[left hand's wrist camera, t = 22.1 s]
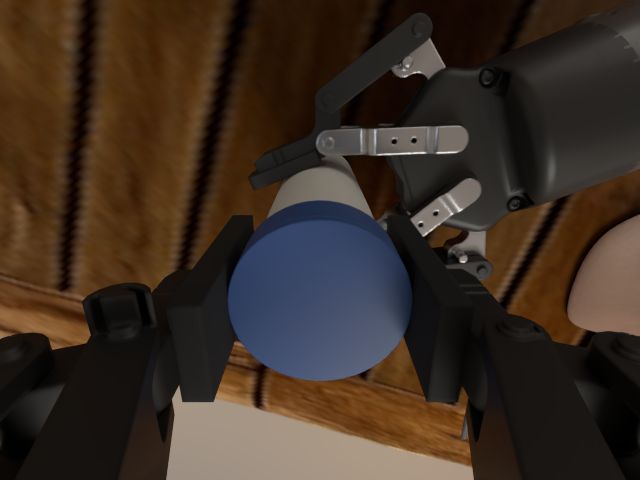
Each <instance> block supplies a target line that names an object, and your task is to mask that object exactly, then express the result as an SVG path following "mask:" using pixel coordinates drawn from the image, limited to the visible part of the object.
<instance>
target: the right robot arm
mask: <svg viewBox="0 0 640 480" xmlns="http://www.w3.org/2000/svg"><path fill="white" fill-rule="evenodd" d="M432 29H433V25H432V21H431V19H430V18H429V16H427V15H426V14H424V13H416V14H413V15H412V16H411V17H409V18H408V19H407V20H405V21H404V22H403V23H402V24H400V25H399V26H398V27H397V28H395V29H394V30H393V31H392V32H390V33H389V34H388V35H387V36H385V37H384V38H383V39H382V40H380V41H379V42H378V43H376V44H375V45H374V46H373V47H371V48H370V49H369V50H368V51H366V52H365V53H364V54H363V55H361V56H360V57H359V58H358V59H356V60H355V61H354V62H353V63H351V64H350V65H349V66H348V67H346V68H345V69H344V70H342V71H341V72H340V73H339V74H337V75H336V76H335V77H334V78H332V79H331V80H330V81H329V82H327V83H326V84H325V85H324V86H322V87H321V88H320V89H319V90H318V91H317V92H316V94H315V98H314V102H315V126H314V129H313V130H312V131H311V132H310V133H309V134H308V135H306V136H303V137H301V138H298V139H296V140H294V141H291V142H289V143H287V144H284V145H282V146H279V147H277V148H275V149H272V150H270V151H267V152H265V153H264V154H263V155H262V156H261V157H260V158H259V159H258V160H257V161H256V162H255V163H254V165H255V167H256V169H257V170H256V171H254V172H252V173H251V174H250V176H249V177H248V179H249V181H250V183H251V185H252V187H253V189H254V190H257V189H260V188H263V187H265V186H268V185H270V184H273V183H275V182H278V181H280V180H282V179H285V178H287V177H290V176H292V175H295V174H297V173H299V172H302V171H304V170H307V169H310V168H312V167H315V166H317V165H320V164H321V158H324V157H326V156H344V155H369V156H382V155H385V158H386V161H387V163H388V165H389V166H390V168H391V169H392V171H393V172H394V174H395V177H396V191H397V194H398V197H399V200H398V201H396V202H395V203H394V204H393V205H391V206H390V207H389V208H388V209H387V210H386V211H385V212H384V214H383V216H382V217H381V218H380V219H378V220H377V222H378V223H379V224H380V225H381V227H382V228H383V229H384V230H385V231H387V217H388V215H407V216H408V217H409V218H410V220H411V221H412V222H413V224H414V225H415V226H416V228H417V229H418V230H419V232H420V233H421V234H422V236H423V237H424V236H425V235H427V234H428V233H429V232H431V231H432V230H433V229H435V228H436V227H437V226H439V225H443V226H447V227H451V228H456V229H460V230H462V232H461V233H460V234H459V235H458V236H457V237H455V238H451V239H448V240H446V241H445V243H444V245H443V247H436V248H432V249H433V250H434V252H435V253H436V254H437V256H438V257H439V258H440V260H441V261H442V262H443V264H444V265H445V266H446V268H447V269H464V270H465V271H467V272H469V273H471V274H472V275H474V276H476V277H477V279H478V280H479V281H482V280H485V279H487V278H489V277H490V276H491V274H492V272H493V266H492V264H491V263H490V262H489V261H488V260H487V259H486V257H485V246H486V231H487V230H489V229H490V228H492V227H493V226H494V225H495V224H496V223H497V222H498V221H499V220H500V219H502V218H503V217H504V216H506V215H507V214H509V213H511V212H514V211H518V210H523V209H527V208H532V207H535V206H538V205H541V204H544V203H547V202H550V201H553V200H555V199H558V198H561V197H564V196H566V195H569V194H572V193H575V192H578V191H580V190H583V189H586V188H589V187H592V186H594V185H597V184H600V183H603V182H605V181H608V180H611V179H614V178H617V177H619V176H622V175H625V174H628V173H631V172H633V171H636V170H639V169H640V0H633V1H630V2H627V3H625V4H622V5H620V6H617V7H615V8H613V9H610V10H608V11H605V12H603V13H602V12H600V13H597V14H592V15H590V16H588V17H585V18H583V19H582V20H580V21H578V22H577V23H575V25H572V26H570V27H567V28H565V29H562V30H560V31H558V32H555V33H553V34H550V35H548V36H546V37H543V38H541V39H539V40H536V41H534V42H531V43H529V44H527V45H524V46H522V47H520V48H517V49H515V50H512V51H510V52H508V53H505V54H503V55H500V56H498V57H496V58H493V59H491V60H488V61H486V62H484V63H481V64H479V65H476V66H474V67H471V68H458V67H445V65H444V63H443V61H442V59H441V58H440V56H439V54H438V52H437V50H436V48H435V47H434V45H433V43H432V41H431V39H430V36H431V34H432ZM387 71H389V73H390V74H391V76H393V77H394V78H397V79H401V78H405V77H408V76H410V75H412V74H415V75H418V76H420V77H421V78H422V79H423V82H422V83H421V85H420V86H419V88H418V89H417V91H416V92H415V94H414V95H413V96H412V98H411V99H410V101H409V102H408V104H407V105H406V107H405V108H404V110H403V111H402V113H401V114H400V116H399V117H398V119H397V120H396V122H395V123H381V124H362V125H349V126H341V115H340V107H342V106H343V105H344V104H346V103H347V102H348V101H350V100H351V99H352V98H353V97H355V96H356V95H357V94H359V93H360V92H361V91H363V90H364V89H365V88H366V87H368V86H369V85H370V84H372V83H373V82H374V81H376V80H377V79H378V78H379V77H381V76H382V75H383V74H385V73H386V72H387ZM419 223H420V224H419Z"/></svg>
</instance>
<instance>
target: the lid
mask: <svg viewBox="0 0 640 480" xmlns="http://www.w3.org/2000/svg"><path fill="white" fill-rule="evenodd" d="M227 299H228V309H229V317H230V321H231V323H232V326H233V329H234V331H235V333H236V335H237V337H238V338H239V340H240V341H241V343H242V344H243V345H244V347H245V348H246V349H247V350H248V351H249V352H250V353H251V354H252V355H253V356H254V357H255V358H256V359H258V360H259V361H260V362H261V363H263V364H264V365H266V366H268V367H269V368H271V369H273V370H275V371H277V372H279V373H282V374H285V375H287V376H290V377H294V378H299V379H304V380H313V381H326V380H336V379H342V378H346V377H350V376H353V375H356V374H358V373H361V372H363V371H366V370H367V369H369V368H371V367H373V366H375V365H376V364H377V363H379V362H380V361H382V360H383V359H384V358H385V357H386V356H387V355H389V354H390V353H391V352H392V351H393V349H394V348H395V347H396V346H397V345H398V343H399V342H400V340H401V339H402V337H403V336H404V334H405V332H406V329H407V327H408V325H409V322H410V318H411V311H412V302H413V291H412V285H411V281H410V278H409V275H408V272H407V270H406V268H405V266H404V264H403V262H402V260H401V258H400V256H399V254H398V252H397V250H396V248H395V246H394V244H393V242H392V240H391V238H390V237H389V236H388V234H387V233H386V231H385V230H384V229H383V228H382V227H381V225H380V224H379V223H378V222H377V221H375V220H374V219H373V218H372V217H371V216H369V215H368V214H366V213H364V212H363V211H361V210H359V209H357V208H355V207H352V206H350V205H347V204H343V203H340V202H334V201H324V200H315V201H306V202H301V203H297V204H294V205H291V206H288V207H285V208H283V209H281V210H280V211H278V212H276V213H274V214H273V215H271V216H270V217H269V218H267V219H266V220H265V221H264V222H263V223H262V224H261V225H260V226H259V227H258V228H257V229H256V230H255V232H254V233H253V234H252V236H251V238H250V239H249V241H248V243H247V245H246V247H245V249H244V251H243V253H242V255H241V257H240V259H239V261H238V263H237V265H236V267H235V269H234V271H233V274H232V276H231V279H230V283H229V287H228V296H227Z"/></svg>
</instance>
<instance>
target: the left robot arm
mask: <svg viewBox="0 0 640 480" xmlns="http://www.w3.org/2000/svg"><path fill="white" fill-rule="evenodd" d="M253 233H254V228H253V215H233V216H232V217H231V219H230V220H229V221H228V223H227V224H226V225H225V227H224V228H223V229H222V231H221V232H220V233H219V235H218V236H217V237H216V239H215V240H214V241H213V243H212V244H211V245H210V247H209V248H208V249H207V251H206V252H205V253H204V255H203V256H202V257H201V259H200V260H199V261H198V263H197V264H196V265H195V267H194V268H193V269H192V270H177V271H175V272H174V273H172V274H170V275H168V276H167V277H165V278H164V279H163V280H162V282H161V283H160V284H159V285H158V286H157V288H155V290H154V291H153V292H152V293H151V290H150V288H149V287H148V286H146V285H145V284H140V283H122V284H117V285H112V286H109V287H106V288H103V289H100V290H98V291H96V292H94V293H92V294H90V295H88V296H87V297H86V298H85V299H84V300H83V301H82V305H83V308H84V312H85V315H86V319H87V323H88V326H89V330H90V333H91V336H90V338H89V340H88V342H87V343H85V344H81V345H76V346H71V347H65V348H60V349H55V350H52V348H51V345H50V342H49V339H48V337H46V336H45V335H44V334H40V333H24V334H15V335H12V336H7V337H4V338H1V339H0V480H166V476H167V468H168V461H169V453H170V445H171V438H172V430H173V422H174V409H173V403H172V398H173V396H174V394H175V392H176V390H177V388H178V386H180V391H181V397H182V402H214V399H215V396H216V393H217V390H218V388H219V385H220V382H221V379H222V376H223V373H224V371H225V368H226V365H227V362H228V359H229V356H230V354H231V351H232V348H233V345H234V342H235V339H236V337H237V335H236V333H235V331H234V329H233V326H232V323H231V321H230V317H229V309H228V299H227V296H228V287H229V283H230V279H231V276H232V274H233V271H234V269H235V267H236V265H237V263H238V261H239V259H240V257H241V255H242V253H243V251H244V249H245V247H246V245H247V243H248V241H249V239H250V238H251V236H252V234H253ZM386 233H387V234H388V236H389V237H390V238H391V240H392V242H393V244H394V246H395V248H396V250H397V252H398V254H399V256H400V258H401V260H402V262H403V264H404V266H405V268H406V270H407V272H408V275H409V278H410V281H411V285H412V291H413V302H412V311H411V318H410V322H409V325H408V327H407V329H406V332H405V334H404V339H405V342H406V344H407V347H408V350H409V353H410V356H411V359H412V361H413V364H414V367H415V370H416V373H417V376H418V378H419V381H420V384H421V387H422V390H423V393H424V395H425V398H426V401H427V402H458V398H459V392H460V387H461V383H462V385H463V387H464V389H465V391H466V393H467V395H468V397H469V398H468V403H467V408H466V413H465V419H464V424H463V429H462V435H461V439H464V440H466V437H467V432H468V437H469V445H470V452H471V460H472V468H473V475H474V480H640V337H639V336H636V335H633V334H631V335H630V334H629V333H624V332H614V331H604V332H598V333H596V334H595V335H593V337H592V340H591V343H590V346H589V348H584V347H578V346H573V345H568V344H562V343H557V342H553V341H552V339H551V337H550V335H549V334H548V333H547V332H546V331H545V329H544V328H543V327H541V326H540V325H538V324H537V323H535V322H533V321H531V320H529V319H526V318H524V317H521V316H516V315H512V314H508V313H507V312H506V310H505V309H504V308H503V307H502V306H501V305H500V304H499V302H498V301H497V300H496V299H495V298H494V297H493V296H492V295H491V294H490V292H489V291H488V290H487V289H486V288H485V287H483V284H482V283H481V282H480V281H479V280H478V279H477V277H476V276H474V275H472V274H471V273H469V272H467V271H465V270H464V269H447V268H446V266H445V265H444V264H443V262H442V261H441V260H440V258H439V257H438V256H437V254H436V253H435V252H434V250H433V249H432V248H431V246H430V245H429V244H428V242H427V241H426V240H425V238H424V237H423V236H422V234H421V233H420V232H419V230H418V229H417V228H416V226H415V225H414V224H413V222H412V221H411V220H410V218H409V217H408V216H407V215H388V217H387V231H386Z"/></svg>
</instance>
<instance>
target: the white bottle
mask: <svg viewBox="0 0 640 480" xmlns="http://www.w3.org/2000/svg"><path fill="white" fill-rule="evenodd" d="M315 200H324V201H334V202H340V203H343V204H347V205H350V206H352V207H355V208H357V209H359V210H361V211H363V212H364V213H366V214H368V215H369V216H371V217H372V218H373V215H372V213H371V211H370V209H369V207H368V204H367V202H366V200H365V198H364V196H363V193H362V191H361V189H360V187H359V185H358V182H357V180H356V178H355V176H354V174H353V171H352V169H351V167H350V165H349V163H348V162H347V161H346V160H345V159H344V158H343V157H342V156H326V157H324V158H321V164H320V165H317V166H315V167H312V168H310V169H307V170H304V171H302V172H299V173H297V174H295V175H292V176H290V177H287V178H285V179H284V181H283V183H282V185H281V187H280V190H279V192H278V194H277V196H276V199H275V201H274V203H273V205H272V207H271V210H270V212H269V214H268V216H267V218H269V217H270V216H271V215H273V214H274V213H276V212H278V211H280V210H281V209H283V208H285V207H288V206H291V205H294V204H297V203H301V202H306V201H315ZM267 218H266V219H267ZM373 219H374V218H373Z"/></svg>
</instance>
